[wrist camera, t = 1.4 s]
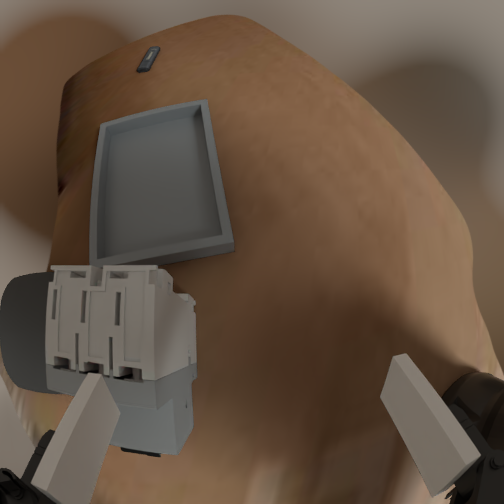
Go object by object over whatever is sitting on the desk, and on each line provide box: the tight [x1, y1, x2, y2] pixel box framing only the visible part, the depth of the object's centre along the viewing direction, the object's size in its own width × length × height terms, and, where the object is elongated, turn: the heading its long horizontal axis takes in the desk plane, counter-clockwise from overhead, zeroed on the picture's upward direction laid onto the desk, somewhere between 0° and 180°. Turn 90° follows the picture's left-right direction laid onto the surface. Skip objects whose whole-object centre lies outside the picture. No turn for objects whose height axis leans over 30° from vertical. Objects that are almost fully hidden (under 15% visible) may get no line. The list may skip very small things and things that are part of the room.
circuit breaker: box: [45, 265, 197, 457], centre depth 19 cm, size 8×14×15 cm, turn 2°
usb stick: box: [137, 46, 160, 73], centre depth 42 cm, size 10×3×2 cm, turn 179°
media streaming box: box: [0, 272, 63, 394], centre depth 25 cm, size 15×15×3 cm
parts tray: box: [89, 99, 234, 269], centre depth 32 cm, size 22×16×3 cm
